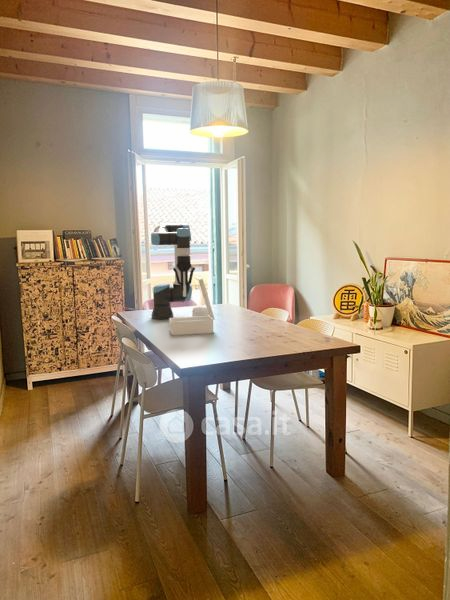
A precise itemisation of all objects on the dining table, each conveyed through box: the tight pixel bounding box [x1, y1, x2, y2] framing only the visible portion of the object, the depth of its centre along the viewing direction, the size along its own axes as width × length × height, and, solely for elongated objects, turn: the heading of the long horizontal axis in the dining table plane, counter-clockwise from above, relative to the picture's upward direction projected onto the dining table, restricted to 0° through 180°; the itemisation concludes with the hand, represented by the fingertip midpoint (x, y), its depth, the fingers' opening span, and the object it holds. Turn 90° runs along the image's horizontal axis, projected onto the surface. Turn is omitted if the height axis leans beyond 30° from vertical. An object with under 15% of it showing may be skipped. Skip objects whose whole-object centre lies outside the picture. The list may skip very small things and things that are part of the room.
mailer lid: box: [195, 276, 216, 321], centre depth 260 cm, size 13×25×2 cm
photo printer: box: [191, 306, 210, 317], centre depth 277 cm, size 10×4×12 cm, turn 85°
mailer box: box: [168, 316, 214, 337], centre depth 261 cm, size 13×24×8 cm, turn 104°
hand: (184, 296), depth 257 cm, fingers closed
